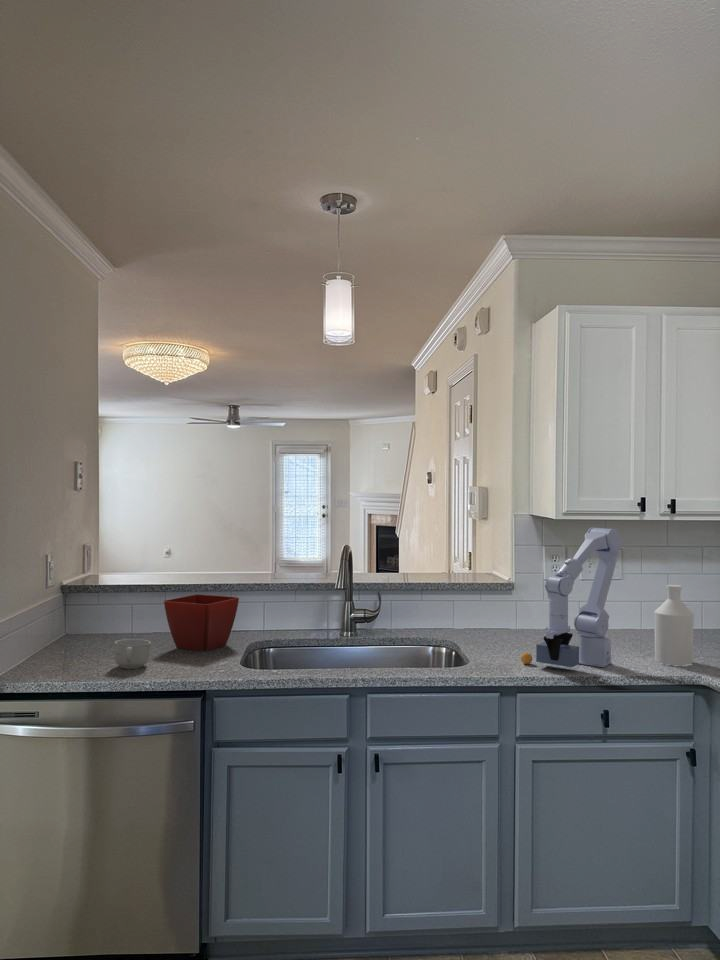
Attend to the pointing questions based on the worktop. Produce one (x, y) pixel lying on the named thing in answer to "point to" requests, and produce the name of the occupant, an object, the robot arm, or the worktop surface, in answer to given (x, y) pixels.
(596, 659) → the robot arm
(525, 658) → the ball
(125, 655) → the teacup
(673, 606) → the bottle
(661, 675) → the worktop surface
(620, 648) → the worktop surface
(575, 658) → the slate blue block
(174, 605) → the plant pot
